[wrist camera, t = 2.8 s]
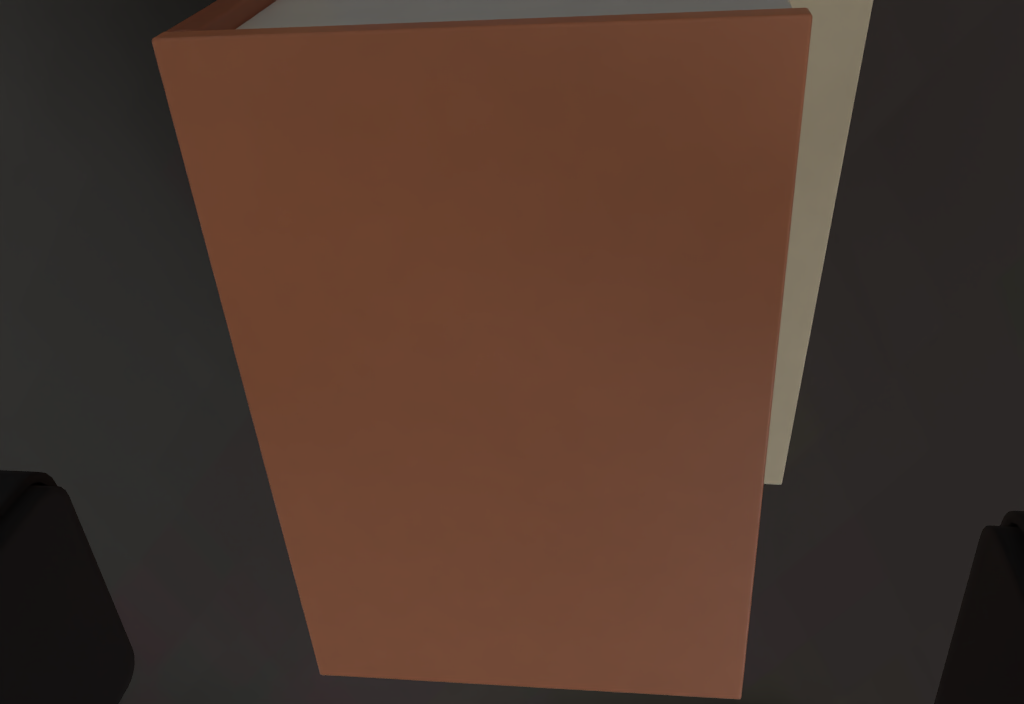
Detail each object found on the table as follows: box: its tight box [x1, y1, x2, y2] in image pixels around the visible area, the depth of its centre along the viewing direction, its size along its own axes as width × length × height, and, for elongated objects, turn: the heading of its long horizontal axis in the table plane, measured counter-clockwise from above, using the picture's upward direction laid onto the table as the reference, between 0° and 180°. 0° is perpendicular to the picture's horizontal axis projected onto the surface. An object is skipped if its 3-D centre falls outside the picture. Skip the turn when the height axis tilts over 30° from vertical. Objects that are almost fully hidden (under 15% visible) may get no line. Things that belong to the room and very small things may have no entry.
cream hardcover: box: [764, 0, 873, 485], centre depth 20 cm, size 15×11×3 cm
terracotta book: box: [152, 0, 813, 699], centre depth 13 cm, size 10×7×4 cm, turn 4°
